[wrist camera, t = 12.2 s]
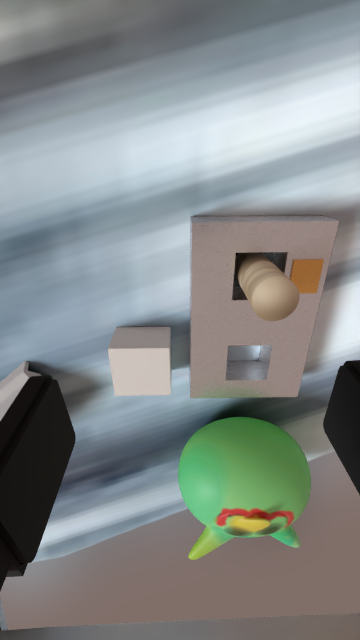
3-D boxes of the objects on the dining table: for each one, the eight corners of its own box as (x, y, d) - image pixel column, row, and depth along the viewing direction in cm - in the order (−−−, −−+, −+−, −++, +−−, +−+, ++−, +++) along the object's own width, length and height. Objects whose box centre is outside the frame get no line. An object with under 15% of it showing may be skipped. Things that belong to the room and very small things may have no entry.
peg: (233, 248, 32) (254, 278, 23) (269, 248, 32) (303, 277, 23) (231, 282, 34) (249, 321, 25) (264, 281, 34) (295, 321, 25)
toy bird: (299, 397, 43) (352, 496, 30) (279, 469, 50) (313, 573, 37) (179, 395, 42) (179, 495, 29) (177, 468, 50) (177, 572, 37)
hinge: (27, 359, 39) (13, 427, 32) (57, 372, 42) (50, 436, 35) (-40, 415, 44) (-65, 485, 37) (-9, 423, 47) (-27, 489, 40)
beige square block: (116, 327, 37) (107, 348, 32) (170, 326, 37) (169, 348, 32) (122, 370, 40) (115, 395, 36) (171, 370, 40) (170, 394, 36)
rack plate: (190, 216, 31) (192, 223, 27) (320, 215, 31) (340, 221, 27) (189, 378, 41) (190, 399, 37) (286, 377, 41) (297, 397, 37)
